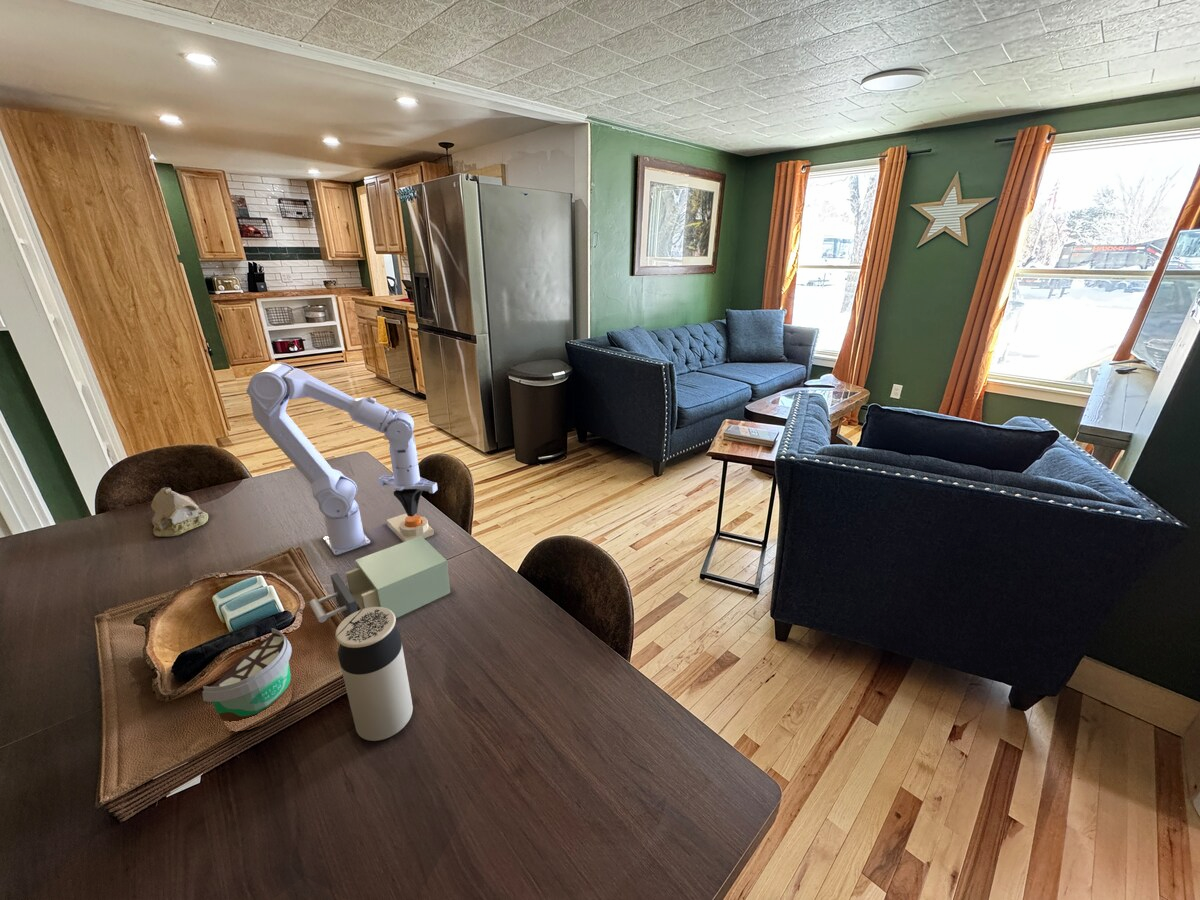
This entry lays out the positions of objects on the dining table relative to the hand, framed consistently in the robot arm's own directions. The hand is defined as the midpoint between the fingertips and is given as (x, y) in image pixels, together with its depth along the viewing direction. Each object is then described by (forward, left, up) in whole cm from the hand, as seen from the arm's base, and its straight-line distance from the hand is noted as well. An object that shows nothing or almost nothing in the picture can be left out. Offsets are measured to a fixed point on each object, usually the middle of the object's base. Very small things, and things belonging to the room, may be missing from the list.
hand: (412, 514), depth 116 cm
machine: (+20, -11, -6) cm, 23 cm away
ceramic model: (-44, -43, -6) cm, 62 cm away
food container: (+33, -37, -6) cm, 50 cm away
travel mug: (+46, -25, -6) cm, 52 cm away
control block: (-3, 0, -6) cm, 7 cm away
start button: (0, 0, -3) cm, 3 cm away
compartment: (+20, -18, -5) cm, 28 cm away
